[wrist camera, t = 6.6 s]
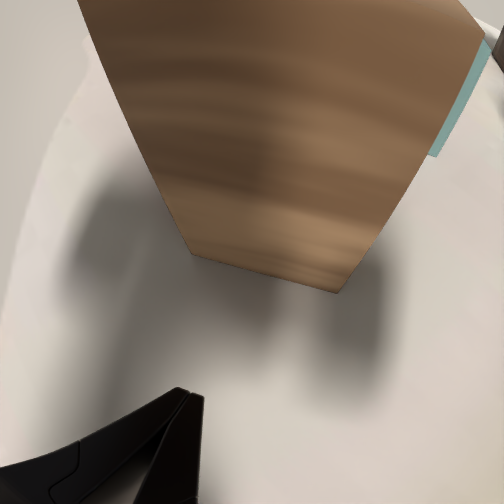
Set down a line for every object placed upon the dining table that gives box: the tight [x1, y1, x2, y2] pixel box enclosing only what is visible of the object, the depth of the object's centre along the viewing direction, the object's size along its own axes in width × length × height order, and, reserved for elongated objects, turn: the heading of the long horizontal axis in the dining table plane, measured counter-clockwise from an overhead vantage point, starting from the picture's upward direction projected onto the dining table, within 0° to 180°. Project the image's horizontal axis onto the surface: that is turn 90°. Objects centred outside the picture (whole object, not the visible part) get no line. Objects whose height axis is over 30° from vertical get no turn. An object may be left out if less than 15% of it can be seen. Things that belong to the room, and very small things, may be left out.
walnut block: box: [77, 0, 485, 293], centre depth 12 cm, size 12×8×14 cm, turn 163°
